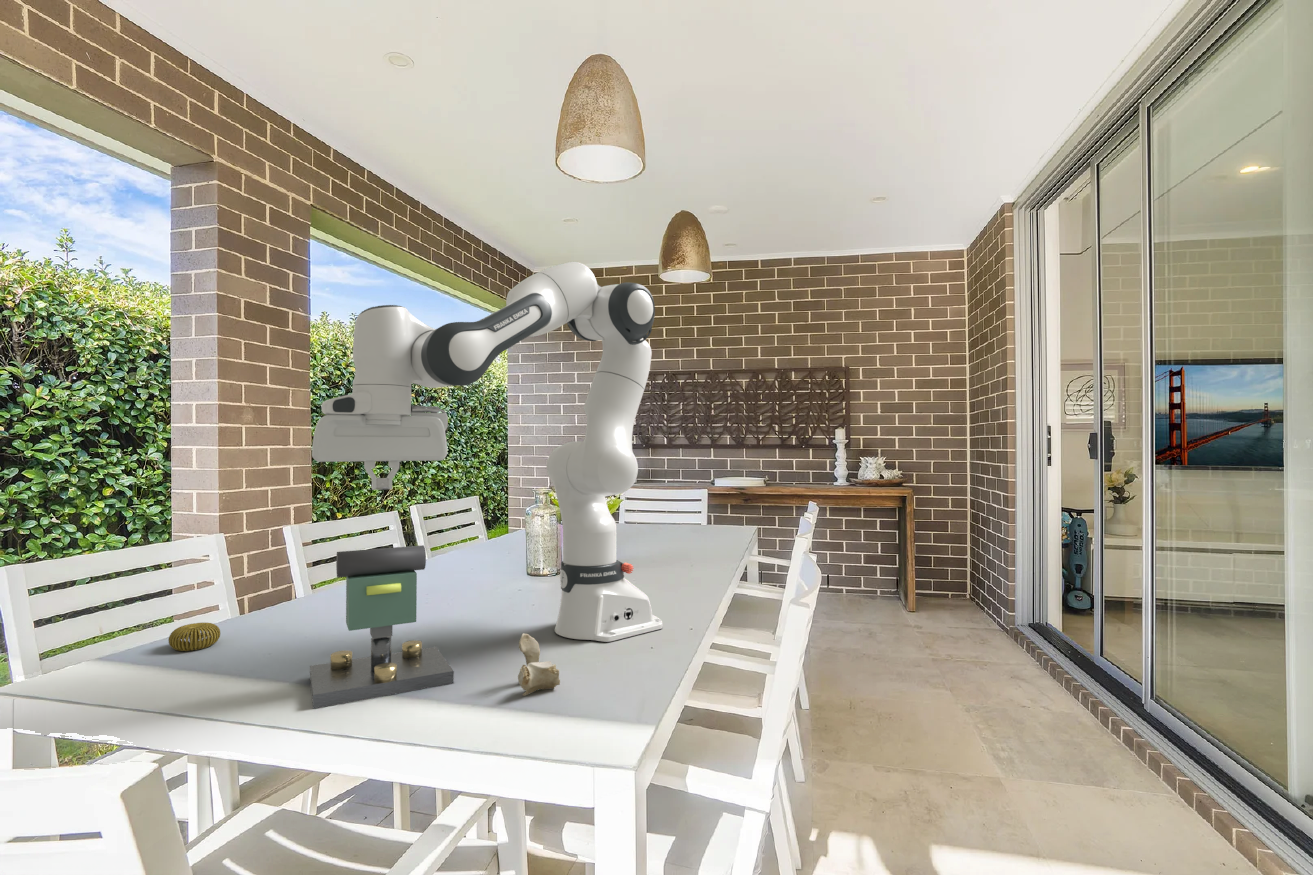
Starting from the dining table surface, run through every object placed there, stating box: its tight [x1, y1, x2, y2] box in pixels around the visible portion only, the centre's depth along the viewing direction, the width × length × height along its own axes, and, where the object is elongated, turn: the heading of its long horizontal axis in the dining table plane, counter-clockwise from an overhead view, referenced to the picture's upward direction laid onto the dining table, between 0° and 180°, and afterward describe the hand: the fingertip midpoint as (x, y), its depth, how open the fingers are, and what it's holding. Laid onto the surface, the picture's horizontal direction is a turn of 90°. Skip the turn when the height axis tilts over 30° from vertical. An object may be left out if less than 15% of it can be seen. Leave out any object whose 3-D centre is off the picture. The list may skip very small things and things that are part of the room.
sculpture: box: [168, 622, 221, 652], centre depth 122 cm, size 8×4×8 cm
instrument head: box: [335, 544, 427, 638], centre depth 104 cm, size 13×6×14 cm, turn 120°
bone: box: [517, 633, 561, 696], centre depth 101 cm, size 9×6×10 cm
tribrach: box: [309, 636, 455, 709], centre depth 105 cm, size 20×14×7 cm
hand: (381, 489), depth 105 cm, fingers closed
